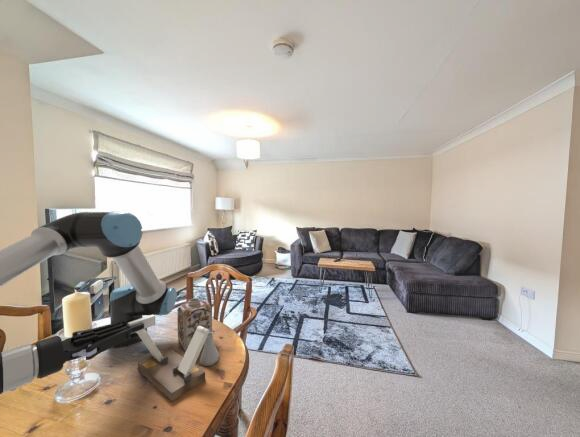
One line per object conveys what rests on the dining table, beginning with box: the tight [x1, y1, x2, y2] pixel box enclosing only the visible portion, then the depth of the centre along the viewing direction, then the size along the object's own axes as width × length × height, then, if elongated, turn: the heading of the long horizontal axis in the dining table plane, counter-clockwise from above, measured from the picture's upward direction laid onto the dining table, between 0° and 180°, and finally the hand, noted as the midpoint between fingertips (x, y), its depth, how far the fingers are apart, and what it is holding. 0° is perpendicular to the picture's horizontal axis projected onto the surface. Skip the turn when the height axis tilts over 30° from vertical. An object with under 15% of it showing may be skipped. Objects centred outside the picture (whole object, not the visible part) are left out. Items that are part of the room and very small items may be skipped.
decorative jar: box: [177, 297, 213, 352], centre depth 99 cm, size 12×12×18 cm
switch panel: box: [137, 347, 206, 402], centre depth 78 cm, size 11×24×4 cm, turn 54°
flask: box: [198, 331, 221, 367], centre depth 85 cm, size 7×7×10 cm
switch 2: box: [178, 326, 209, 375], centre depth 77 cm, size 2×6×14 cm
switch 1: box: [136, 329, 163, 362], centre depth 79 cm, size 2×6×14 cm, turn 55°
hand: (154, 319), depth 67 cm, fingers closed
